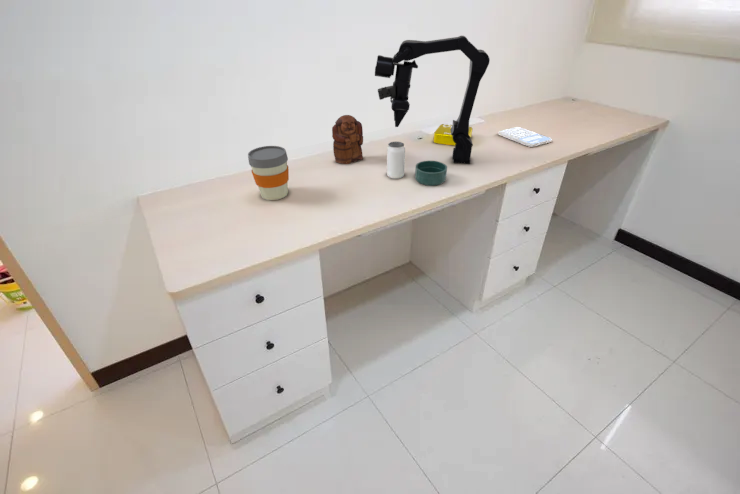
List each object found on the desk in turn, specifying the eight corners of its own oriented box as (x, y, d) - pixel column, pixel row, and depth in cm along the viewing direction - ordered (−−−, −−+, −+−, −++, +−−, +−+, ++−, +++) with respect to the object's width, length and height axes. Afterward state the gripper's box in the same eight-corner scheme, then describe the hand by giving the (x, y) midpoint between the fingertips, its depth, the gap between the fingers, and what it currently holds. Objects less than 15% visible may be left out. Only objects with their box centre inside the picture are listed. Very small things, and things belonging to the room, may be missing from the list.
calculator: (517, 129, 179) (518, 125, 178) (552, 142, 165) (553, 138, 164) (496, 134, 174) (497, 130, 173) (531, 148, 160) (532, 143, 158)
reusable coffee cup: (275, 206, 122) (267, 163, 113) (248, 197, 128) (238, 155, 119) (300, 190, 131) (294, 149, 122) (274, 183, 136) (266, 143, 127)
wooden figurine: (340, 166, 147) (337, 120, 137) (333, 160, 152) (329, 116, 141) (366, 159, 152) (364, 115, 142) (358, 154, 157) (356, 111, 146)
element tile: (432, 143, 166) (433, 132, 164) (440, 132, 178) (441, 122, 175) (466, 147, 162) (467, 136, 159) (472, 136, 173) (473, 125, 170)
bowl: (445, 173, 140) (447, 161, 137) (445, 187, 131) (447, 174, 128) (415, 172, 142) (416, 159, 139) (413, 185, 133) (414, 172, 130)
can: (402, 179, 137) (404, 148, 130) (385, 178, 138) (385, 147, 131) (405, 172, 142) (406, 141, 135) (388, 171, 143) (388, 140, 136)
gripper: (380, 73, 142) (375, 115, 150) (380, 81, 126) (375, 127, 135) (409, 77, 143) (402, 119, 151) (413, 85, 127) (405, 131, 135)
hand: (396, 123), depth 143 cm, fingers open, 9 cm apart
